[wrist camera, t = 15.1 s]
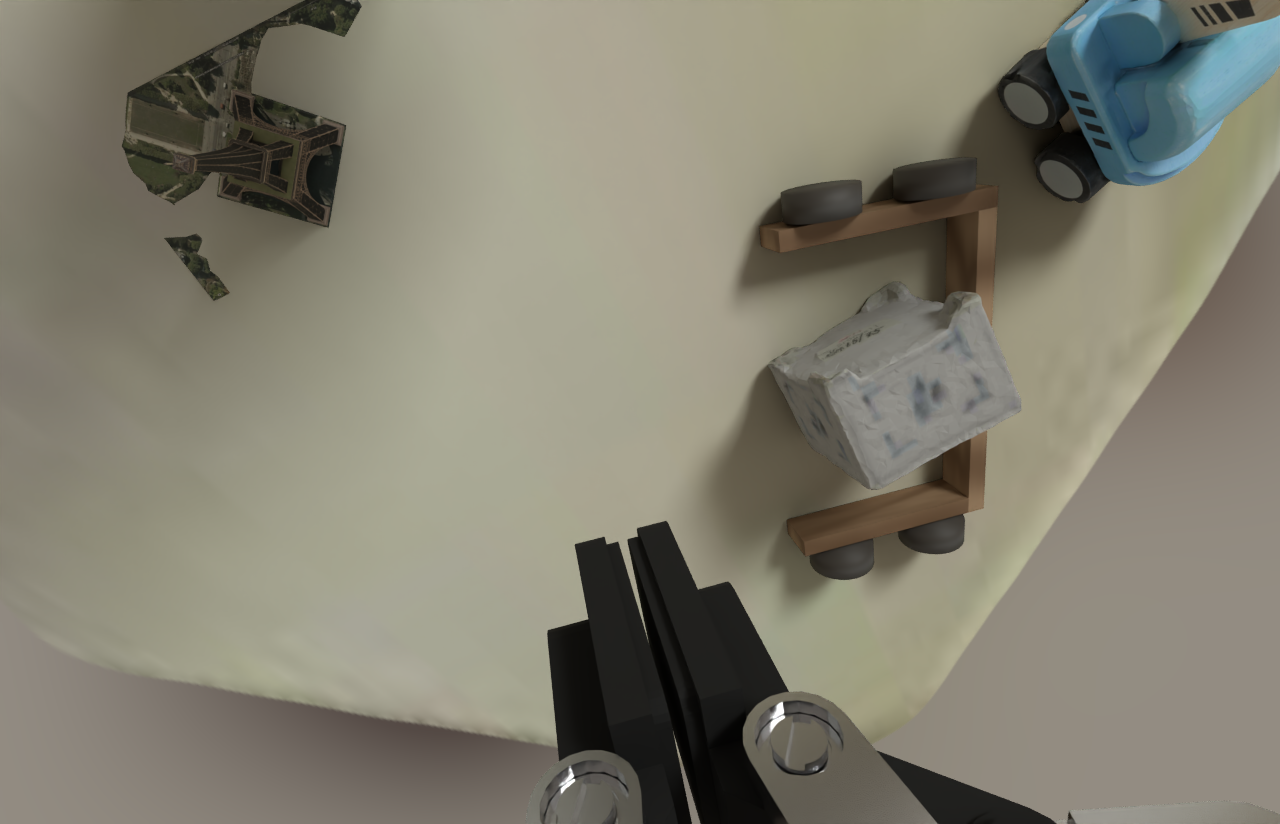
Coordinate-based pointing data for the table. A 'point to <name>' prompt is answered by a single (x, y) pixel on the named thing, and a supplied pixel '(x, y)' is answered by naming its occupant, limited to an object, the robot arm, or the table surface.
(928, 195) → the chassis bay
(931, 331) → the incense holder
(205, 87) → the eiffel tower figurine
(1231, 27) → the toy excavator
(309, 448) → the table surface
